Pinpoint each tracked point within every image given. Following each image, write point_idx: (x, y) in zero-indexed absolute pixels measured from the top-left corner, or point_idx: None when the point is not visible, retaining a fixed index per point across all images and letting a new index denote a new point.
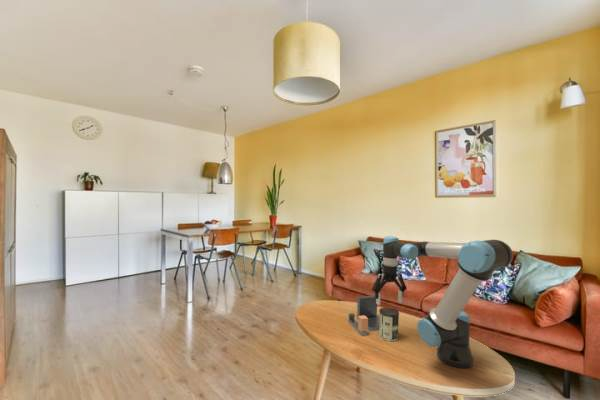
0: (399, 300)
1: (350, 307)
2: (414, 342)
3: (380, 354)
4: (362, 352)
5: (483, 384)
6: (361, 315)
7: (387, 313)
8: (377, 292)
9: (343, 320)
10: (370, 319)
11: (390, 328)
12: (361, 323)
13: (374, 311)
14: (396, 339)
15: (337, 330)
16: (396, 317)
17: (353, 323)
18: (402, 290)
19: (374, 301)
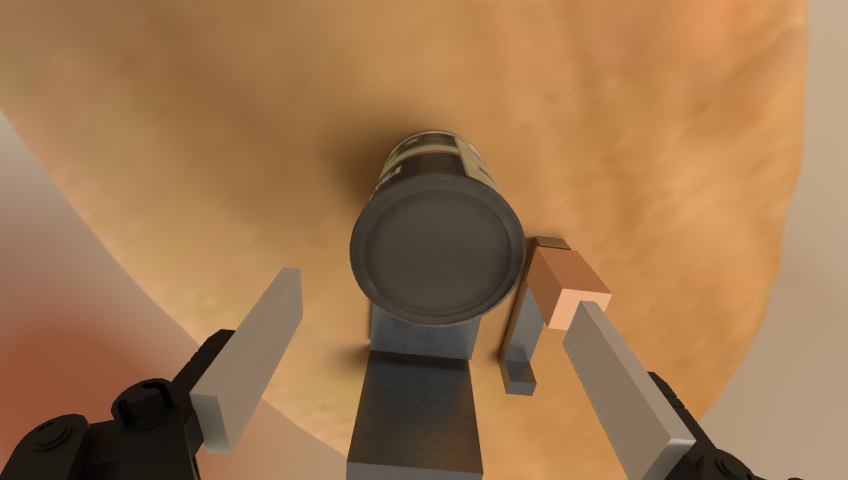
0: (293, 308)
1: None
2: (328, 72)
3: (634, 27)
4: (706, 90)
5: None
6: (458, 373)
7: (486, 228)
8: (736, 462)
9: None
10: (426, 338)
11: (470, 157)
12: (597, 276)
13: (380, 378)
14: (421, 134)
15: (631, 316)
16: (423, 169)
17: (539, 332)
18: (170, 413)
19: (372, 434)
